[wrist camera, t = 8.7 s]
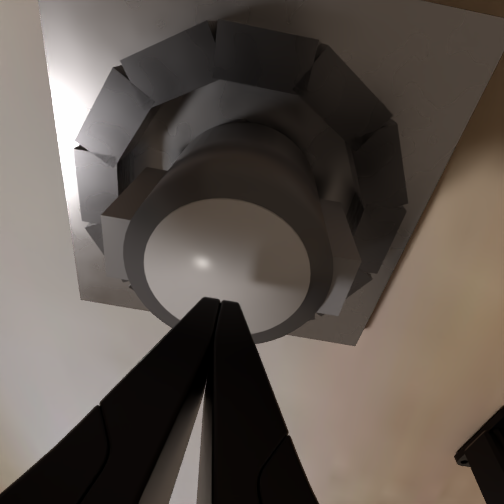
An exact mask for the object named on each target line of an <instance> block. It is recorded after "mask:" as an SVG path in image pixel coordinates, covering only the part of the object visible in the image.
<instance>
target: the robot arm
mask: <svg viewBox="0 0 504 504" xmlns="http://www.w3.org/2000/svg"><path fill="white" fill-rule="evenodd" d="M205 385H206V387H205ZM204 390H205V394H204ZM203 394H204V404H203V418H202V432H201V447H200V461H199V475H198V490H197V504H319V503H318V501H317V498H316V496H315V494H314V492H313V490H312V488H311V486H310V483H309V481H308V479H307V476H306V474H305V471H304V469H303V467H302V464H301V462H300V459H299V457H298V454H297V452H296V449H295V447H294V444H293V441H292V439H291V436H289V435H288V433H289V432H288V429H287V426H286V424H285V421H284V418H283V416H282V413H281V411H280V408H279V405H278V403H277V400H276V398H275V395H274V392H273V390H272V387H271V385H270V382H269V379H268V377H267V374H266V372H265V369H264V366H263V364H262V361H261V358H260V356H259V353H258V351H257V348H256V345H255V343H254V340H253V338H252V335H251V332H250V330H249V327H248V325H247V322H246V319H245V317H244V314H243V312H242V309H241V306H240V304H239V303H238V302H235V301H229V300H222V301H220V299H217V298H211V297H203V298H202V299H200V300H199V301H198V302H197V304H196V305H195V306H194V307H193V308H192V309H191V310H190V311H189V312H188V313H187V314H186V315H185V316H184V317H183V318H182V319H181V320H180V321H179V322H178V323H177V324H176V325H175V326H174V327H173V328H172V329H171V330H170V331H169V332H168V333H167V334H166V335H165V336H164V337H163V338H162V339H161V340H160V341H159V342H158V343H157V344H156V345H155V346H154V347H153V348H152V349H151V350H150V351H149V352H148V353H147V354H146V355H145V356H144V357H143V358H142V360H141V361H140V362H139V363H138V364H137V365H136V366H135V367H134V368H133V369H132V370H131V371H130V372H129V373H128V374H127V375H126V376H125V377H124V378H123V379H122V380H121V381H120V382H119V383H118V384H117V385H116V386H115V387H114V388H113V389H112V390H111V391H110V392H109V393H108V394H107V395H106V396H105V397H104V398H103V399H102V400H101V401H100V403H99V404H100V406H99V405H96V406H95V407H94V408H93V409H92V410H91V411H90V412H89V413H88V414H87V415H86V416H85V417H84V418H83V419H82V420H81V421H80V422H79V423H78V424H77V425H76V426H75V427H74V428H73V429H72V430H71V431H70V432H69V433H68V434H67V435H66V436H65V437H64V438H63V439H62V440H61V441H60V442H59V443H58V444H57V445H56V446H55V447H54V448H52V449H51V450H50V451H49V452H48V453H47V454H46V455H44V456H43V457H42V458H41V459H40V460H39V461H38V462H36V463H35V464H34V465H33V466H32V467H31V468H30V469H29V470H27V471H26V472H25V473H24V474H23V475H22V476H21V477H19V478H18V479H17V480H16V481H15V482H13V483H12V484H11V485H10V486H9V487H8V488H6V489H5V490H4V491H3V492H2V493H0V504H169V501H170V498H171V494H172V491H173V488H174V485H175V482H176V479H177V476H178V473H179V470H180V467H181V463H182V460H183V457H184V454H185V451H186V448H187V445H188V442H189V439H190V435H191V432H192V429H193V426H194V423H195V420H196V417H197V414H198V411H199V408H200V404H201V401H202V398H203ZM454 458H455V460H456V462H457V464H458V465H461V466H467V467H471V470H472V472H473V474H474V476H475V479H476V481H477V483H478V485H479V488H480V490H481V492H482V495H483V497H484V499H485V501H486V504H504V409H502V410H500V411H499V412H498V413H497V414H496V415H495V416H494V417H493V418H492V419H491V420H490V421H489V422H488V423H487V424H486V425H485V426H484V427H483V428H482V429H481V430H480V431H479V432H478V433H477V434H476V435H475V436H474V437H473V438H472V439H471V440H470V441H469V442H468V443H467V444H466V445H465V446H464V447H463V448H462V449H461V450H460V451H459V452H458V453H457V454H456V455H455V456H454Z"/></svg>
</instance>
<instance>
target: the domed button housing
mask: <svg viewBox="0 0 504 504" xmlns="http://www.w3.org/2000/svg"><path fill="white" fill-rule="evenodd" d="M101 224H102V235H103V246H104V257H105V268H106V277H112V278H118V279H124V280H129V282H130V284H131V286H132V288H133V290H134V291H135V293H136V295H137V296H138V298H139V299H140V300H141V302H142V303H143V304H144V305H145V307H146V308H147V309H148V310H149V311H150V312H151V313H152V314H154V315H155V316H156V317H157V318H159V319H160V320H161V321H162V322H164V323H165V324H167V325H168V326H170V327H171V328H173V327H174V326H175V325H176V324H177V323H178V322H179V321H180V320H181V319H182V318H183V317H184V316H185V315H186V314H187V313H188V312H189V311H190V310H191V309H192V308H193V307H194V306H195V305H196V304H197V302H198V301H199V300H200V299H202V298H203V297H211V298H217V299H220V301H222V300H229V301H235V302H238V303H239V304H240V306H241V309H242V312H243V314H244V317H245V319H246V322H247V325H248V327H249V330H250V332H251V335H252V338H253V340H254V343H255V344H259V343H264V342H268V341H272V340H275V339H277V338H280V337H283V336H285V335H287V334H289V333H291V332H293V331H295V330H296V329H298V328H299V327H301V326H302V325H304V324H305V323H306V322H307V321H308V320H309V319H311V318H312V317H313V315H314V314H315V313H316V312H317V313H323V314H329V315H335V316H339V313H340V311H341V309H342V306H343V304H344V302H345V299H346V297H347V294H348V292H349V290H350V287H351V285H352V283H353V280H354V278H355V276H356V273H357V271H358V269H359V266H360V264H361V258H360V255H359V253H358V250H357V247H356V244H355V241H354V238H353V236H352V233H351V230H350V227H349V224H348V222H347V219H346V216H345V213H344V210H343V208H342V205H341V202H336V201H330V200H325V199H319V195H318V191H317V187H316V183H315V179H314V174H313V172H312V169H311V166H310V164H309V162H308V160H307V158H306V157H305V155H304V154H303V153H302V151H301V150H300V149H299V147H298V146H297V145H296V144H295V143H294V142H293V141H291V140H290V139H289V138H288V137H286V136H285V135H283V134H282V133H280V132H278V131H277V130H275V129H272V128H270V127H267V126H264V125H260V124H257V123H249V122H232V123H226V124H222V125H218V126H215V127H213V128H211V129H208V130H206V131H204V132H203V133H201V134H200V135H198V136H197V137H196V138H195V139H194V140H192V141H191V142H190V143H189V144H188V146H187V147H186V148H185V149H184V150H183V152H182V153H181V154H180V155H179V157H178V158H177V159H176V161H175V162H174V163H173V165H172V166H171V167H170V168H169V170H168V171H166V170H161V169H155V168H150V167H146V168H145V169H144V170H143V171H142V172H141V173H140V174H139V175H138V176H137V177H136V179H135V180H134V181H133V182H132V183H131V184H130V185H129V186H128V187H127V188H126V189H125V190H124V191H123V192H122V193H121V194H120V195H119V196H118V197H117V199H116V200H115V201H114V202H113V203H112V204H111V205H110V206H109V207H108V208H107V209H106V210H105V211H104V212H103V213H102V214H101Z"/></svg>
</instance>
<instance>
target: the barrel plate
mask: <svg viewBox="0 0 504 504" xmlns="http://www.w3.org/2000/svg"><path fill="white" fill-rule="evenodd" d="M38 5H39V12H40V19H41V26H42V33H43V40H44V47H45V54H46V61H47V68H48V75H49V82H50V89H51V96H52V103H53V110H54V117H55V123H56V130H57V137H58V144H59V151H60V158H61V165H62V172H63V179H64V186H65V193H66V200H67V207H68V214H69V221H70V228H71V235H72V242H73V249H74V256H75V263H76V270H77V277H78V284H79V291H80V298H81V300H86V301H92V302H97V303H103V304H109V305H115V306H121V307H127V308H133V309H139V310H145V311H149V310H148V309H147V308H146V307H145V305H144V304H143V303H142V302H141V300H140V299H139V298H138V296H137V295H136V293H135V291H134V290H133V288H132V286H131V284H130V282H129V280H124V279H118V278H112V277H106V268H105V257H104V246H103V235H102V224H101V214H102V213H103V212H104V211H105V210H106V209H107V208H108V207H109V206H110V205H111V204H112V203H113V202H114V201H115V200H116V199H117V197H118V196H119V195H120V194H121V193H122V192H123V191H124V190H125V189H126V188H127V187H128V186H129V185H130V184H131V183H132V182H133V181H134V180H135V179H136V177H137V176H138V175H139V174H140V173H141V172H142V171H143V170H144V169H145V168H146V167H150V168H155V169H161V170H166V171H168V170H169V168H170V167H171V166H172V165H173V163H174V162H175V161H176V159H177V158H178V157H179V155H180V154H181V153H182V152H183V150H184V149H185V148H186V147H187V146H188V144H189V143H190V142H191V141H192V140H194V139H195V138H196V137H197V136H198V135H200V134H201V133H203V132H204V131H206V130H208V129H211V128H213V127H215V126H218V125H222V124H226V123H232V122H249V123H257V124H260V125H264V126H267V127H270V128H272V129H275V130H277V131H278V132H280V133H282V134H283V135H285V136H286V137H288V138H289V139H290V140H291V141H293V142H294V143H295V144H296V145H297V146H298V147H299V149H300V150H301V151H302V153H303V154H304V155H305V157H306V158H307V160H308V162H309V164H310V166H311V169H312V172H313V174H314V179H315V183H316V187H317V191H318V195H319V199H325V200H330V201H336V202H341V205H342V208H343V210H344V213H345V216H346V219H347V222H348V224H349V227H350V230H351V233H352V236H353V238H354V241H355V244H356V247H357V250H358V253H359V255H360V258H361V264H360V266H359V269H358V271H357V273H356V276H355V278H354V280H353V283H352V285H351V287H350V290H349V292H348V294H347V297H346V299H345V302H344V304H343V306H342V309H341V311H340V313H339V316H335V315H329V314H323V313H317V312H316V313H315V314H314V315H313V317H312V318H311V319H309V320H308V321H307V322H306V323H305V324H304V325H302V326H301V327H299V328H298V329H296V330H295V331H293V332H291V333H289V334H287V335H292V336H298V337H304V338H310V339H316V340H322V341H328V342H334V343H339V344H345V345H351V346H356V344H357V342H358V340H359V338H360V336H361V334H362V332H363V330H364V328H365V326H366V324H367V322H368V320H369V318H370V316H371V314H372V312H373V310H374V308H375V306H376V304H377V302H378V300H379V298H380V296H381V294H382V292H383V290H384V288H385V286H386V284H387V282H388V280H389V278H390V276H391V274H392V272H393V270H394V268H395V266H396V264H397V262H398V260H399V258H400V256H401V254H402V252H403V250H404V248H405V246H406V244H407V242H408V240H409V238H410V236H411V234H412V232H413V230H414V229H415V227H416V225H417V223H418V221H419V219H420V217H421V215H422V213H423V211H424V209H425V207H426V205H427V203H428V201H429V199H430V197H431V195H432V193H433V191H434V189H435V187H436V185H437V183H438V181H439V179H440V177H441V175H442V173H443V171H444V169H445V167H446V165H447V163H448V161H449V159H450V157H451V155H452V153H453V151H454V149H455V147H456V145H457V143H458V141H459V139H460V137H461V135H462V133H463V131H464V129H465V127H466V125H467V123H468V121H469V119H470V117H471V115H472V113H473V111H474V110H475V108H476V106H477V104H478V102H479V100H480V98H481V96H482V94H483V92H484V90H485V88H486V86H487V84H488V82H489V80H490V78H491V76H492V74H493V72H494V70H495V68H496V66H497V64H498V62H499V60H500V58H501V56H502V54H503V52H504V18H501V17H497V16H492V15H487V14H483V13H478V12H473V11H469V10H464V9H459V8H455V7H450V6H445V5H441V4H436V3H431V2H427V1H422V0H38Z"/></svg>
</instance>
